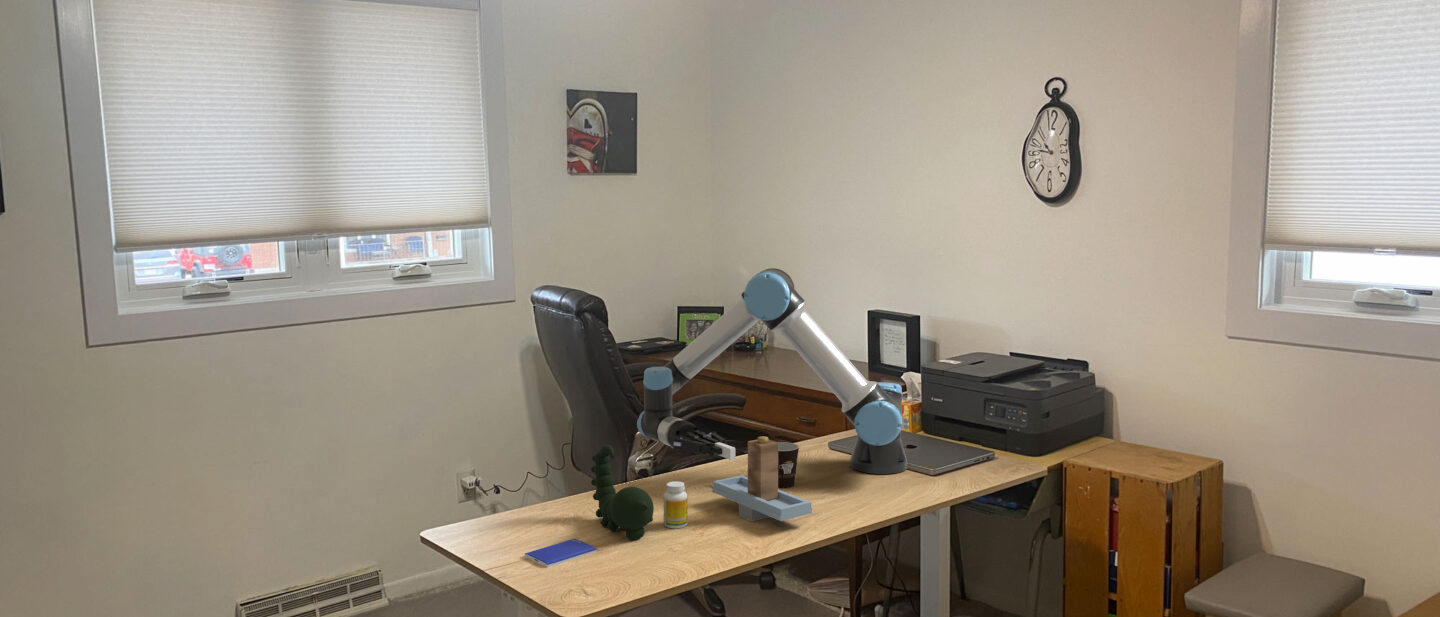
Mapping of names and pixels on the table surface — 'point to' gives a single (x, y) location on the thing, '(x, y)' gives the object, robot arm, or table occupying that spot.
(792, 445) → the coffee mug
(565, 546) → the hard drive
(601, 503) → the toy figurine
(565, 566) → the table surface
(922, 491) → the table surface
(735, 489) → the beam
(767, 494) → the brown block with knob
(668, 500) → the supplement bottle
